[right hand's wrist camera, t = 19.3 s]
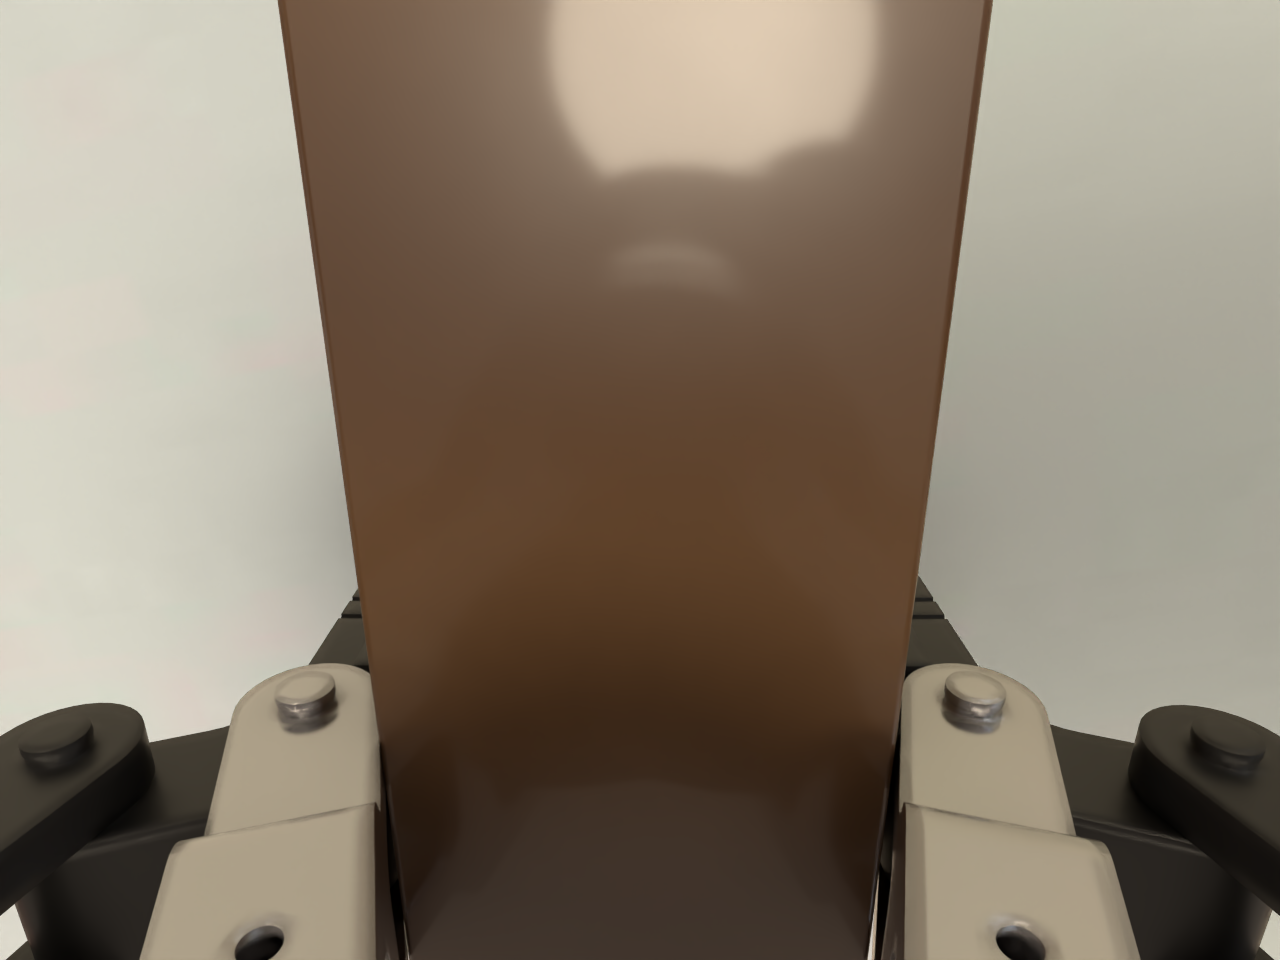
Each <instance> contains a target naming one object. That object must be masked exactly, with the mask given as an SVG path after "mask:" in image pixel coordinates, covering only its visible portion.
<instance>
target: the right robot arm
mask: <svg viewBox="0 0 1280 960" xmlns="http://www.w3.org/2000/svg"><path fill="white" fill-rule="evenodd" d="M14 904H15V906H16V909H17V911H18V914H19V917H20V920H21V923H22V926H23V928H24V931H25V934H26V937H27V940H28V941H27V942H25V943H24V944H23V945H22V946H21V947H20V948H19V949H18V950H16V951H15V952H14V953H13V954H12V955H11V956H10V957H9V958H7V959H6V960H408V947H407V939H406V932H405V925H404V918H403V910H402V903H401V896H400V888H399V881H398V874H397V867H396V859H395V852H394V845H393V837H392V830H391V823H390V816H389V808H388V801H387V794H386V786H385V779H384V771H383V764H382V757H381V749H380V742H379V735H378V728H377V721H376V714H375V706H374V699H373V692H372V684H371V677H370V670H369V662H368V655H367V648H366V641H365V633H364V626H363V619H362V611H361V604H360V597H359V590H358V589H357V591H356V592H355V594H354V595H353V600H352V601H350V602H349V603H348V605H347V606H346V608H345V609H344V611H343V612H342V617H341V618H339V619H338V620H337V622H336V623H335V625H334V626H333V628H332V629H331V631H330V632H329V634H328V636H327V637H326V639H325V640H324V642H323V643H322V645H321V646H320V648H319V649H318V651H317V653H316V654H315V656H314V657H313V659H312V660H311V662H310V663H309V665H307V666H302V667H298V668H294V669H291V670H287V671H285V672H282V673H279V674H277V675H274V676H272V677H270V678H268V679H266V680H264V681H263V682H261V683H259V684H258V685H256V686H255V687H254V688H252V689H251V690H250V691H248V692H247V693H246V694H245V695H244V696H243V697H242V698H241V699H240V701H239V702H238V704H237V705H236V707H235V709H234V712H233V715H232V719H231V723H230V726H226V727H223V728H219V729H215V730H211V731H206V732H201V733H196V734H191V735H186V736H181V737H176V738H171V739H166V740H160V741H155V742H150V743H149V740H148V736H147V732H146V728H145V724H144V721H143V718H142V716H141V715H140V714H139V713H138V712H137V711H136V710H134V709H132V708H131V707H128V706H125V705H121V704H114V703H93V704H84V705H78V706H72V707H68V708H64V709H60V710H57V711H53V712H50V713H47V714H44V715H42V716H39V717H37V718H34V719H32V720H29V721H27V722H25V723H23V724H21V725H19V726H17V727H15V728H13V729H12V730H10V731H8V732H7V733H5V734H3V735H2V736H0V916H1V915H2V914H3V913H4V912H5V911H7V910H8V909H9V908H10V907H11V906H13V905H14ZM1272 910H1273V911H1275V912H1276V913H1277V914H1278V915H1279V916H1280V736H1278V735H1277V734H1275V733H1273V732H1271V731H1270V730H1268V729H1266V728H1264V727H1262V726H1260V725H1258V724H1256V723H1254V722H1251V721H1249V720H1246V719H1244V718H1241V717H1239V716H1235V715H1232V714H1229V713H1226V712H1223V711H1219V710H1214V709H1210V708H1204V707H1198V706H1188V705H1171V706H1164V707H1159V708H1156V709H1153V710H1151V711H1150V712H1148V713H1146V714H1145V715H1144V716H1143V718H1142V719H1141V721H1140V724H1139V728H1138V732H1137V735H1136V739H1135V743H1130V742H1125V741H1120V740H1115V739H1110V738H1105V737H1100V736H1095V735H1090V734H1085V733H1080V732H1076V731H1071V730H1067V729H1063V728H1060V727H1057V726H1054V725H1051V724H1050V723H1049V719H1048V715H1047V712H1046V709H1045V707H1044V705H1043V704H1042V702H1041V701H1040V699H1039V698H1038V697H1037V696H1036V695H1035V694H1034V693H1033V692H1032V691H1030V690H1029V689H1028V688H1027V687H1025V686H1024V685H1022V684H1021V683H1019V682H1017V681H1016V680H1014V679H1012V678H1010V677H1008V676H1006V675H1003V674H1001V673H998V672H996V671H993V670H989V669H986V668H982V667H978V665H977V664H976V662H975V661H974V659H973V658H972V656H971V655H970V653H969V652H968V650H967V649H966V647H965V646H964V644H963V643H962V641H961V640H960V638H959V636H958V635H957V633H956V632H955V630H954V629H953V627H952V626H951V624H950V623H949V621H948V620H947V619H944V614H943V612H942V611H941V609H940V608H939V606H938V605H937V603H936V602H933V597H932V595H931V594H930V592H929V591H928V589H927V588H926V586H925V585H924V583H923V582H922V580H921V579H920V577H919V576H918V578H917V585H916V593H915V601H914V608H913V616H912V624H911V631H910V639H909V647H908V654H907V662H906V669H905V677H904V685H903V692H902V700H901V708H900V715H899V723H898V731H897V738H896V746H895V753H894V761H893V769H892V776H891V784H890V792H889V799H888V807H887V815H886V822H885V830H884V837H883V845H882V853H881V860H880V868H879V876H878V883H877V891H876V899H875V906H874V925H873V943H872V960H1274V959H1273V958H1271V957H1270V956H1269V955H1268V954H1267V953H1266V952H1265V951H1264V950H1262V949H1261V948H1260V947H1259V946H1260V943H1261V940H1262V937H1263V935H1264V932H1265V929H1266V926H1267V924H1268V921H1269V918H1270V915H1271V912H1272Z"/></svg>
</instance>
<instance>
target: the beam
mask: <svg viewBox="0 0 1280 960" xmlns="http://www.w3.org/2000/svg"><path fill="white" fill-rule="evenodd" d="M992 5H993V0H278V7H279V14H280V21H281V29H282V36H283V43H284V50H285V58H286V65H287V72H288V80H289V87H290V94H291V101H292V109H293V116H294V123H295V131H296V138H297V145H298V152H299V160H300V167H301V174H302V182H303V189H304V196H305V203H306V211H307V218H308V225H309V233H310V240H311V247H312V254H313V262H314V269H315V276H316V284H317V291H318V298H319V305H320V313H321V320H322V327H323V335H324V342H325V349H326V356H327V364H328V371H329V378H330V386H331V393H332V400H333V407H334V415H335V422H336V429H337V437H338V444H339V451H340V458H341V466H342V473H343V480H344V488H345V495H346V502H347V509H348V517H349V524H350V531H351V539H352V546H353V553H354V560H355V568H356V575H357V582H358V590H359V597H360V604H361V611H362V619H363V626H364V633H365V641H366V648H367V655H368V662H369V670H370V677H371V684H372V692H373V699H374V706H375V714H376V721H377V728H378V735H379V742H380V749H381V757H382V764H383V771H384V779H385V786H386V794H387V801H388V808H389V816H390V823H391V830H392V837H393V845H394V852H395V859H396V867H397V874H398V881H399V888H400V896H401V903H402V910H403V918H404V925H405V932H406V939H407V947H408V954H409V960H868V952H869V944H870V937H871V929H872V921H873V914H874V906H875V899H876V891H877V883H878V876H879V868H880V860H881V853H882V845H883V837H884V830H885V822H886V815H887V807H888V799H889V792H890V784H891V776H892V769H893V761H894V753H895V746H896V738H897V731H898V723H899V715H900V708H901V700H902V692H903V685H904V677H905V669H906V662H907V654H908V647H909V639H910V631H911V624H912V616H913V608H914V601H915V593H916V585H917V578H918V570H919V563H920V555H921V547H922V540H923V532H924V524H925V517H926V509H927V501H928V494H929V486H930V478H931V471H932V463H933V456H934V448H935V440H936V433H937V425H938V417H939V410H940V402H941V394H942V387H943V379H944V372H945V364H946V356H947V349H948V341H949V333H950V326H951V318H952V310H953V303H954V295H955V288H956V280H957V272H958V265H959V257H960V249H961V242H962V234H963V226H964V219H965V211H966V204H967V196H968V188H969V181H970V173H971V165H972V158H973V150H974V142H975V135H976V127H977V120H978V112H979V104H980V97H981V89H982V81H983V74H984V66H985V58H986V51H987V43H988V35H989V28H990V20H991V13H992Z"/></svg>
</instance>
